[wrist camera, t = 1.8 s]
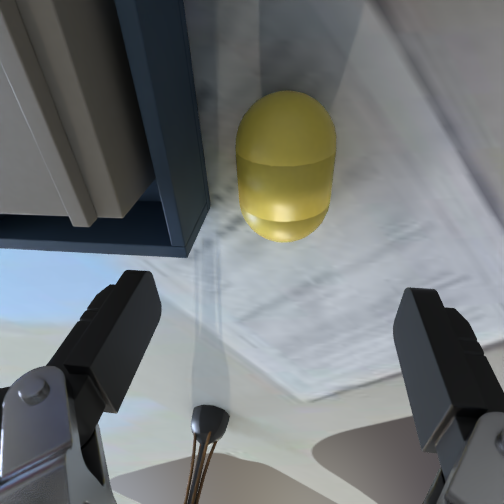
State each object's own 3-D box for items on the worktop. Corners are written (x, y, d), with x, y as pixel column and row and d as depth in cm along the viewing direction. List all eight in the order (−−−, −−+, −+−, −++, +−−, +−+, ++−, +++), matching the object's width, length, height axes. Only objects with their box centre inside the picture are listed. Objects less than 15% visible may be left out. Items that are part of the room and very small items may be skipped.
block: (-34, 4, 17) (-249, 10, 11) (147, -6, 16) (32, -7, 9) (34, 152, 22) (-84, 220, 15) (176, 153, 21) (115, 228, 14)
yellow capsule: (240, 81, 18) (221, 106, 14) (338, 79, 17) (348, 105, 13) (247, 211, 23) (235, 258, 19) (323, 214, 22) (327, 263, 18)
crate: (-115, -97, 15) (-293, -136, 11) (166, -125, 14) (96, -186, 9) (34, 201, 25) (-26, 247, 20) (210, 206, 23) (187, 258, 19)
